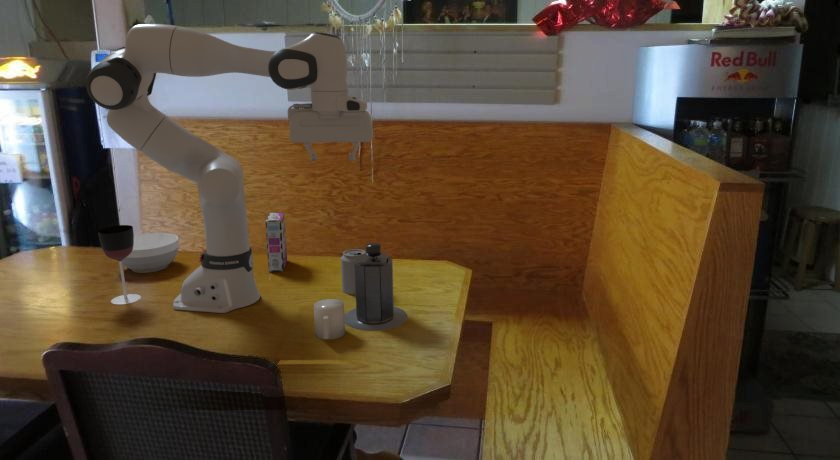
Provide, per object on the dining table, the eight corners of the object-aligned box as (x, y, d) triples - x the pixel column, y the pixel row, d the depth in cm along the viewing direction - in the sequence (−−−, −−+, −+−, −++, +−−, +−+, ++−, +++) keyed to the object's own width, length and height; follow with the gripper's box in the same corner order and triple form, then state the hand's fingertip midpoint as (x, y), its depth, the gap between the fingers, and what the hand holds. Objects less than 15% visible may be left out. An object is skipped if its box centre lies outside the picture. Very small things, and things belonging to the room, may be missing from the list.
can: (364, 298, 169) (363, 256, 165) (338, 296, 170) (336, 255, 167) (372, 288, 176) (371, 248, 172) (347, 286, 177) (345, 247, 174)
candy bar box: (285, 271, 190) (281, 220, 186) (268, 272, 190) (264, 221, 185) (288, 260, 201) (284, 211, 196) (272, 261, 200) (268, 212, 196)
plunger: (361, 299, 150) (359, 248, 146) (363, 289, 156) (361, 241, 152) (386, 298, 150) (385, 248, 146) (387, 289, 156) (386, 241, 152)
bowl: (167, 277, 186) (163, 249, 184) (105, 277, 187) (101, 250, 184) (190, 257, 205) (187, 232, 202) (134, 258, 205) (130, 232, 203)
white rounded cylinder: (311, 347, 140) (309, 314, 138) (318, 329, 149) (316, 299, 147) (342, 346, 140) (340, 314, 138) (347, 329, 149) (345, 298, 147)
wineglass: (149, 295, 172) (139, 226, 166) (122, 307, 164) (112, 235, 159) (128, 291, 175) (118, 223, 170) (102, 302, 167) (90, 231, 162)
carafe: (355, 324, 150) (352, 264, 146) (360, 306, 161) (357, 249, 157) (392, 324, 150) (391, 263, 146) (395, 305, 161) (393, 248, 157)
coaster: (339, 333, 147) (339, 330, 147) (347, 307, 162) (347, 304, 162) (406, 333, 147) (406, 330, 146) (408, 307, 162) (408, 304, 162)
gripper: (284, 104, 145) (288, 162, 149) (370, 103, 145) (372, 162, 149) (289, 102, 151) (293, 158, 155) (373, 101, 151) (374, 157, 155)
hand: (333, 160), depth 152 cm, fingers open, 8 cm apart
